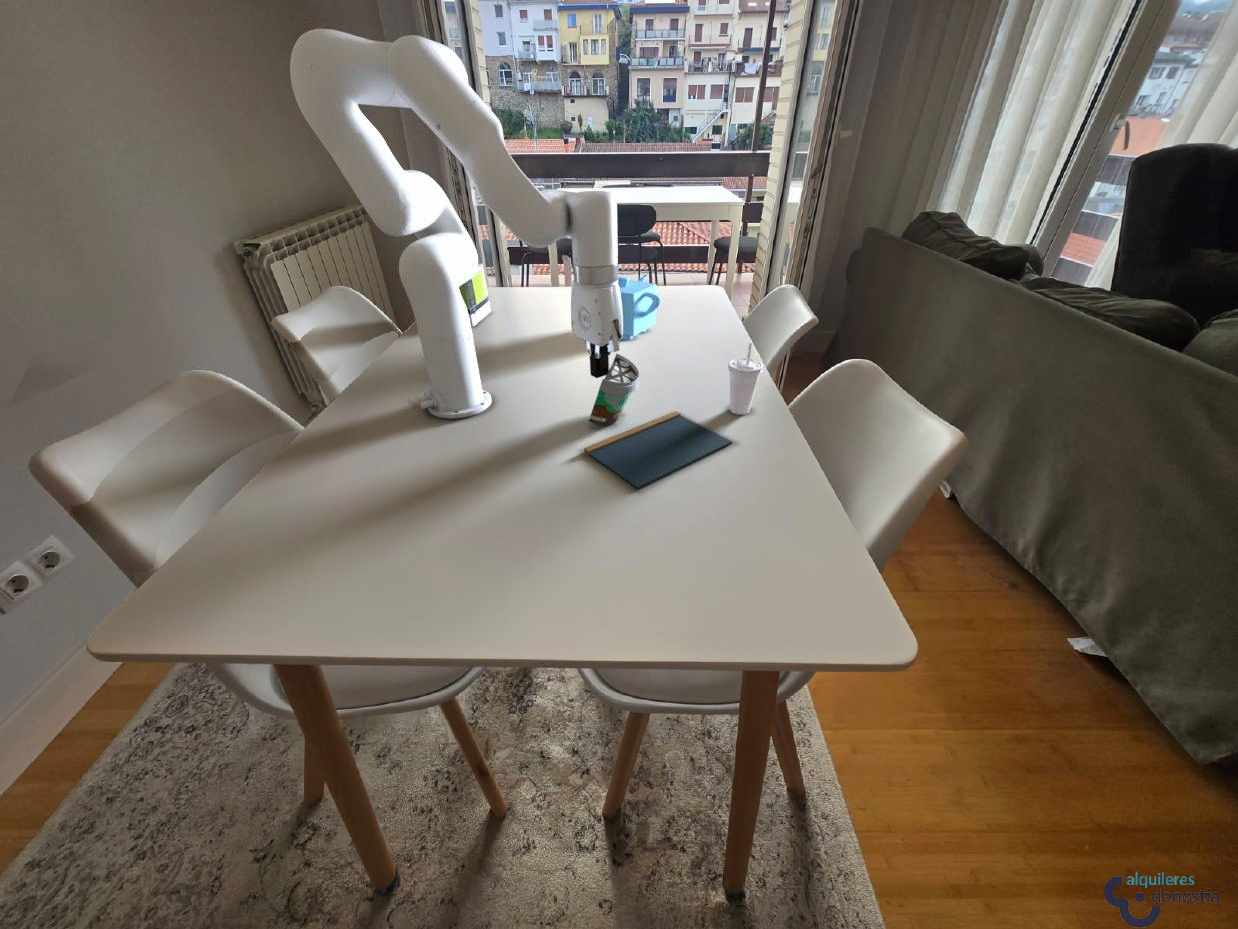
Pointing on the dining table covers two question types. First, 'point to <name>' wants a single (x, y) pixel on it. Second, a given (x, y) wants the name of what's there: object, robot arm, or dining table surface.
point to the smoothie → (743, 382)
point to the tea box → (476, 296)
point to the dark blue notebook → (656, 449)
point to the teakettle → (637, 305)
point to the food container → (615, 391)
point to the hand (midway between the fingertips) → (599, 374)
